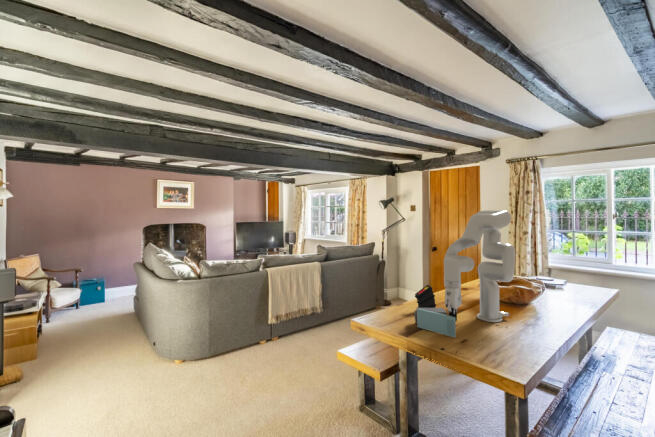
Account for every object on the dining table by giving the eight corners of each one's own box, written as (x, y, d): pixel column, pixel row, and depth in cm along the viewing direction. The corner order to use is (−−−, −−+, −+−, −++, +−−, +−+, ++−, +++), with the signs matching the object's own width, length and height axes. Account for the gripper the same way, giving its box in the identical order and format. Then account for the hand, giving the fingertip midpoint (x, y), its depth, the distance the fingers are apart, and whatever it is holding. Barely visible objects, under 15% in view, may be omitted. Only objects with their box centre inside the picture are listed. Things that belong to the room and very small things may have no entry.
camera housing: (443, 322, 164) (442, 307, 164) (447, 327, 157) (446, 312, 157) (414, 322, 165) (414, 307, 165) (416, 327, 158) (416, 312, 158)
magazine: (440, 306, 185) (431, 285, 182) (424, 318, 181) (415, 297, 178) (435, 304, 189) (427, 284, 186) (420, 316, 184) (411, 296, 181)
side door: (455, 336, 145) (455, 317, 144) (453, 338, 143) (453, 318, 143) (417, 326, 158) (417, 308, 158) (415, 327, 157) (415, 309, 156)
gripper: (454, 287, 139) (455, 327, 139) (465, 281, 150) (466, 318, 151) (438, 285, 144) (439, 323, 144) (450, 279, 155) (450, 314, 156)
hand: (452, 320), depth 147 cm, fingers closed
